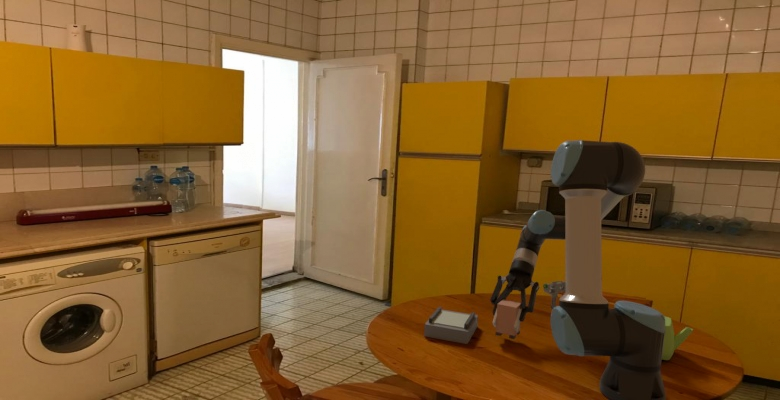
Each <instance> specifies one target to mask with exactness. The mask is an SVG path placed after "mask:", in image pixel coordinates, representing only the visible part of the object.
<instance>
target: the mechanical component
mask: <svg viewBox="0 0 780 400" xmlns="http://www.w3.org/2000/svg"><path fill="white" fill-rule="evenodd" d="M542 286H543V292H544V293H547V294H549V295H550V297H551V306H550V308H552V309H553V308H554V307H556V306H557V305H556V304H557V298H558V297H559V296H558V294H561V293H563V294H564V293H565V292H566V287H565V281H563V280H558V281H557V280H556V281H551V283H550V284H549V283H547V282H546V283H544V284H543V285H542Z"/></svg>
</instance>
